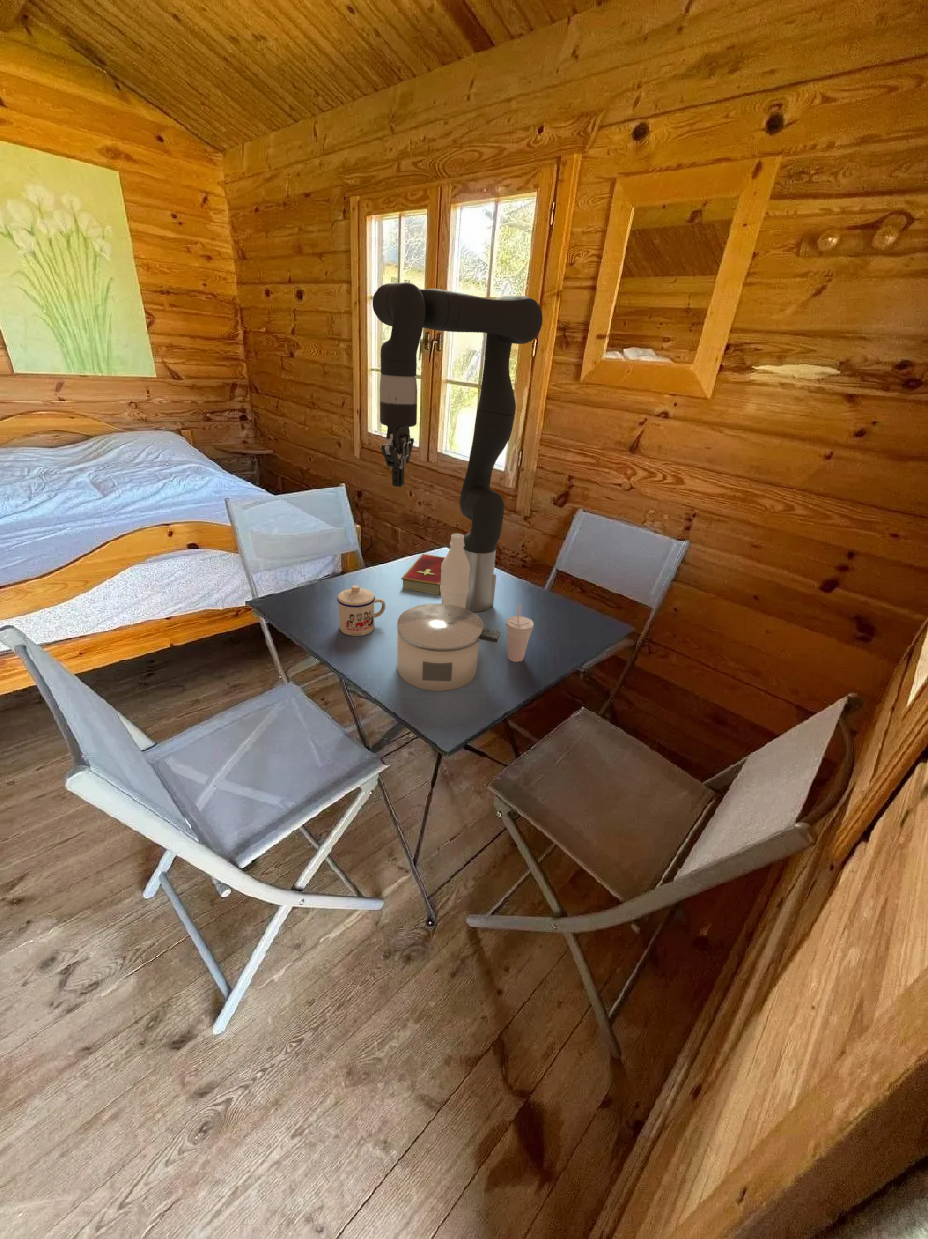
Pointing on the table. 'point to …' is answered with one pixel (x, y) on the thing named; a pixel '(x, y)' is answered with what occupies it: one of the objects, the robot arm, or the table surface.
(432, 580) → the hardcover book
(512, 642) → the smoothie
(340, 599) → the teacup with lid
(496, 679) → the table surface
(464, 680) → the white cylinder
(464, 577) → the water bottle
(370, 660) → the table surface
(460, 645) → the cooker lid
